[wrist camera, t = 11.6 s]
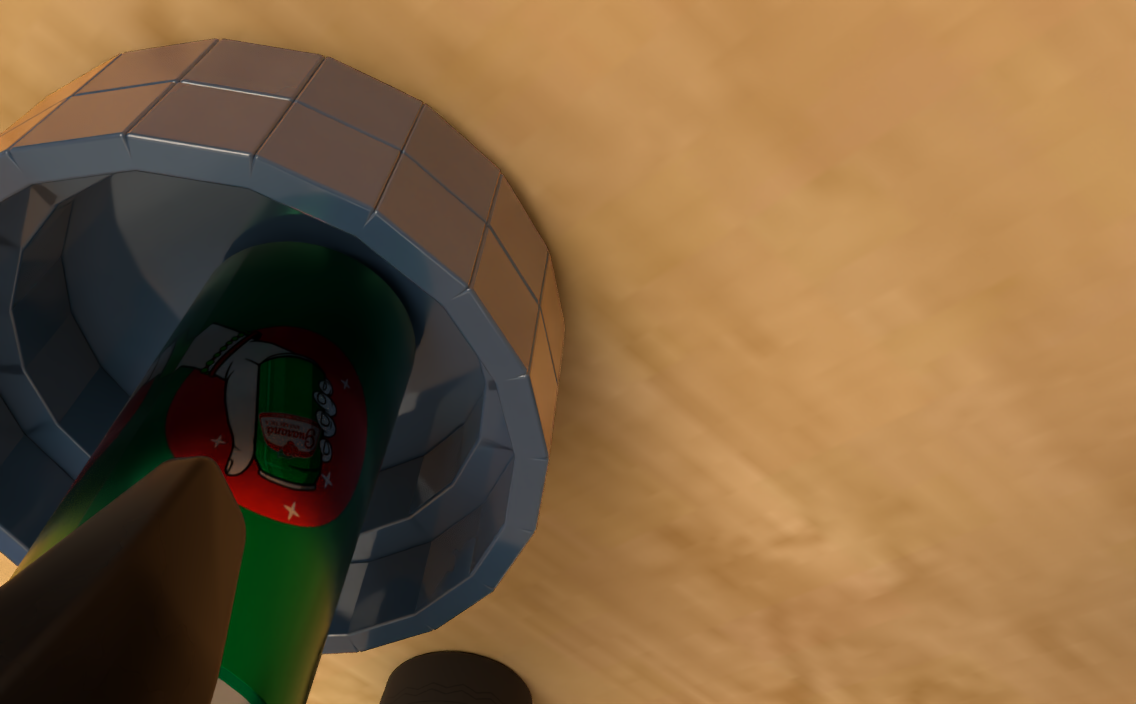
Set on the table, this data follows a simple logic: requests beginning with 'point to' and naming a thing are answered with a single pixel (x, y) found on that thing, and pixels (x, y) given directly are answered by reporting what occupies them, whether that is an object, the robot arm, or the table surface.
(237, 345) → the soda can
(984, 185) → the table surface
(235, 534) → the robot arm
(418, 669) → the drinking cup
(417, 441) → the bowl
